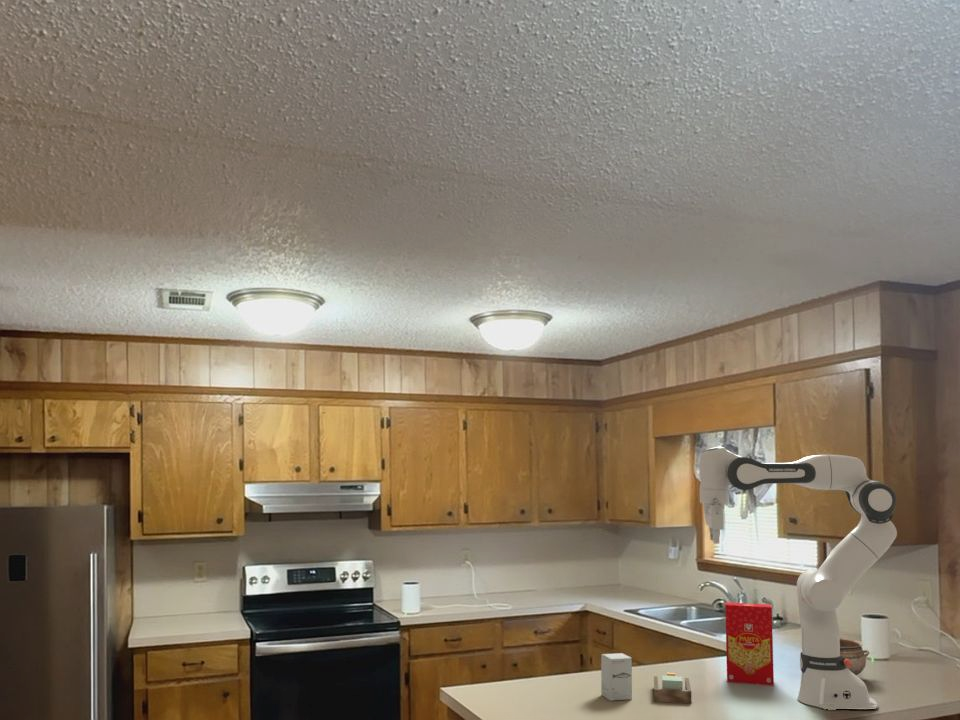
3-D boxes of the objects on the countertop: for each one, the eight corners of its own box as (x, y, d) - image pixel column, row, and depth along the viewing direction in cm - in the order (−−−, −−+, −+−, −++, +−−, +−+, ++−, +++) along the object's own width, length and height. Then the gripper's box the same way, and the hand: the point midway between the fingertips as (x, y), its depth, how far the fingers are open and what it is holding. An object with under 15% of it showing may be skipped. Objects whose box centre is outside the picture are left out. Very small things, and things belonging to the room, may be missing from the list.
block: (680, 686, 288) (680, 667, 288) (682, 701, 271) (682, 681, 272) (661, 685, 289) (661, 666, 289) (662, 700, 272) (662, 680, 273)
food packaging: (727, 681, 294) (725, 604, 296) (727, 678, 299) (725, 602, 301) (773, 685, 290) (771, 607, 292) (773, 681, 295) (771, 604, 297)
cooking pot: (851, 670, 310) (850, 634, 312) (887, 684, 292) (885, 646, 293) (787, 673, 305) (786, 637, 307) (819, 688, 287) (817, 649, 288)
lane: (689, 689, 284) (688, 678, 285) (691, 703, 269) (691, 691, 269) (654, 687, 286) (653, 676, 287) (654, 701, 271) (654, 689, 271)
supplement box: (610, 701, 270) (610, 658, 271) (600, 695, 277) (600, 653, 278) (632, 699, 272) (632, 657, 273) (622, 693, 279) (622, 652, 280)
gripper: (727, 499, 272) (728, 545, 271) (720, 496, 293) (721, 539, 291) (706, 499, 273) (707, 545, 272) (701, 496, 294) (701, 538, 292)
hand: (714, 541), depth 282 cm, fingers open, 8 cm apart
